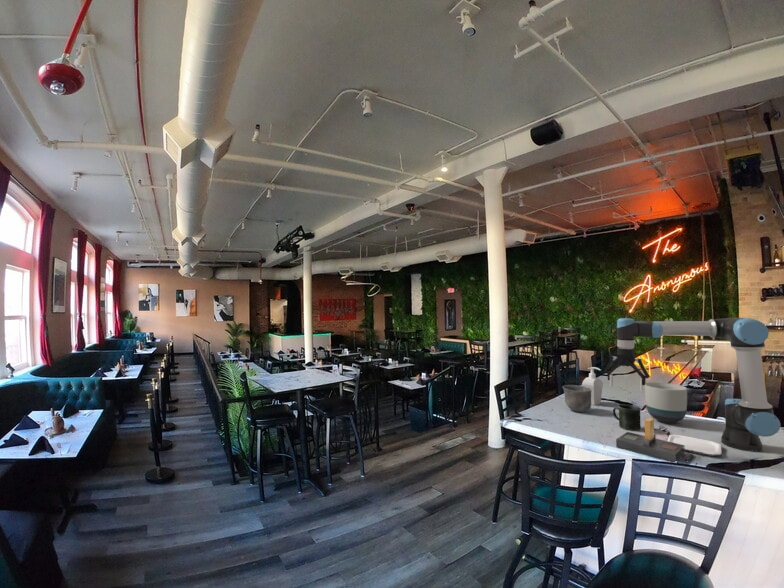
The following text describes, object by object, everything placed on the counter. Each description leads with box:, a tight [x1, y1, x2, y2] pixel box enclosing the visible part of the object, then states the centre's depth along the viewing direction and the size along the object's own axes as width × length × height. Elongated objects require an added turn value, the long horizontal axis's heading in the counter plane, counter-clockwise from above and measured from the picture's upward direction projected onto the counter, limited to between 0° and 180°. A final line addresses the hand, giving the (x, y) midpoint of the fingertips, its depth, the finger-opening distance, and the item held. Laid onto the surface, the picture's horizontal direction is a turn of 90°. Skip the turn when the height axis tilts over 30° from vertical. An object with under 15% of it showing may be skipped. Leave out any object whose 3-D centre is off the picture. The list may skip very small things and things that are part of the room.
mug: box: [612, 404, 642, 432], centre depth 212 cm, size 11×15×12 cm
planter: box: [644, 381, 688, 424], centre depth 222 cm, size 20×20×21 cm
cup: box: [562, 384, 592, 413], centre depth 245 cm, size 18×18×15 cm
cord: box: [685, 453, 694, 463], centre depth 169 cm, size 1×10×1 cm, turn 131°
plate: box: [666, 434, 723, 457], centre depth 183 cm, size 21×21×2 cm
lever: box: [644, 417, 655, 442], centre depth 179 cm, size 2×8×11 cm, turn 130°
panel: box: [615, 431, 686, 463], centre depth 179 cm, size 24×16×7 cm, turn 40°
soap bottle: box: [581, 366, 604, 406], centre depth 261 cm, size 12×10×26 cm
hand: (626, 389), depth 191 cm, fingers open, 13 cm apart
